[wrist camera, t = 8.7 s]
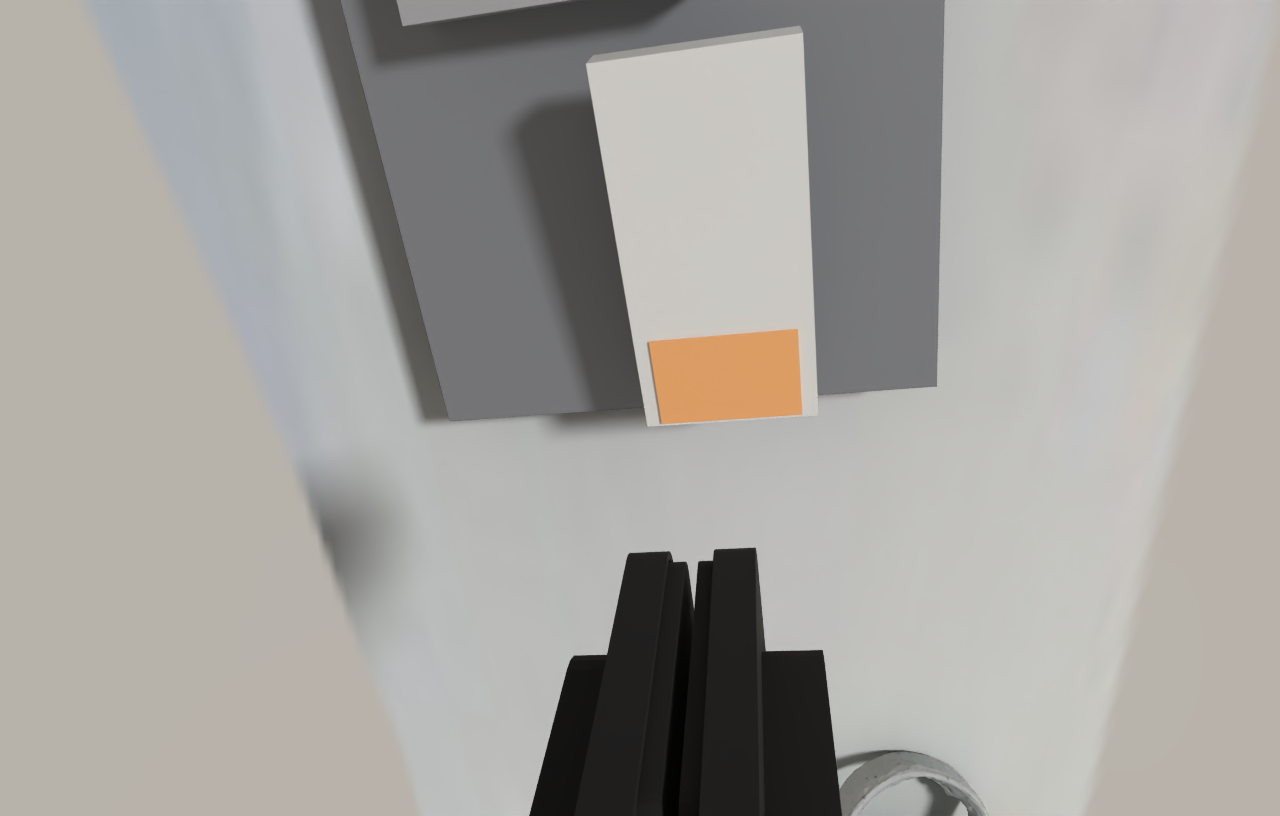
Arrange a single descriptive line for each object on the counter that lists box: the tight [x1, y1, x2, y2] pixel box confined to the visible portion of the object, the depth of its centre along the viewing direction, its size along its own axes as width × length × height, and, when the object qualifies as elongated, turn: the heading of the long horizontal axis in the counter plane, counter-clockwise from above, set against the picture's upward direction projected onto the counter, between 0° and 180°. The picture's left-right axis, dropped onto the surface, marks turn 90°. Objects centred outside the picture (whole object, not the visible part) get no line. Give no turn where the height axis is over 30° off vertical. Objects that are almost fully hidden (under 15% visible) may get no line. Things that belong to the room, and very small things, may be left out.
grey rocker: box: [586, 26, 818, 427], centre depth 19 cm, size 9×4×1 cm, turn 7°
